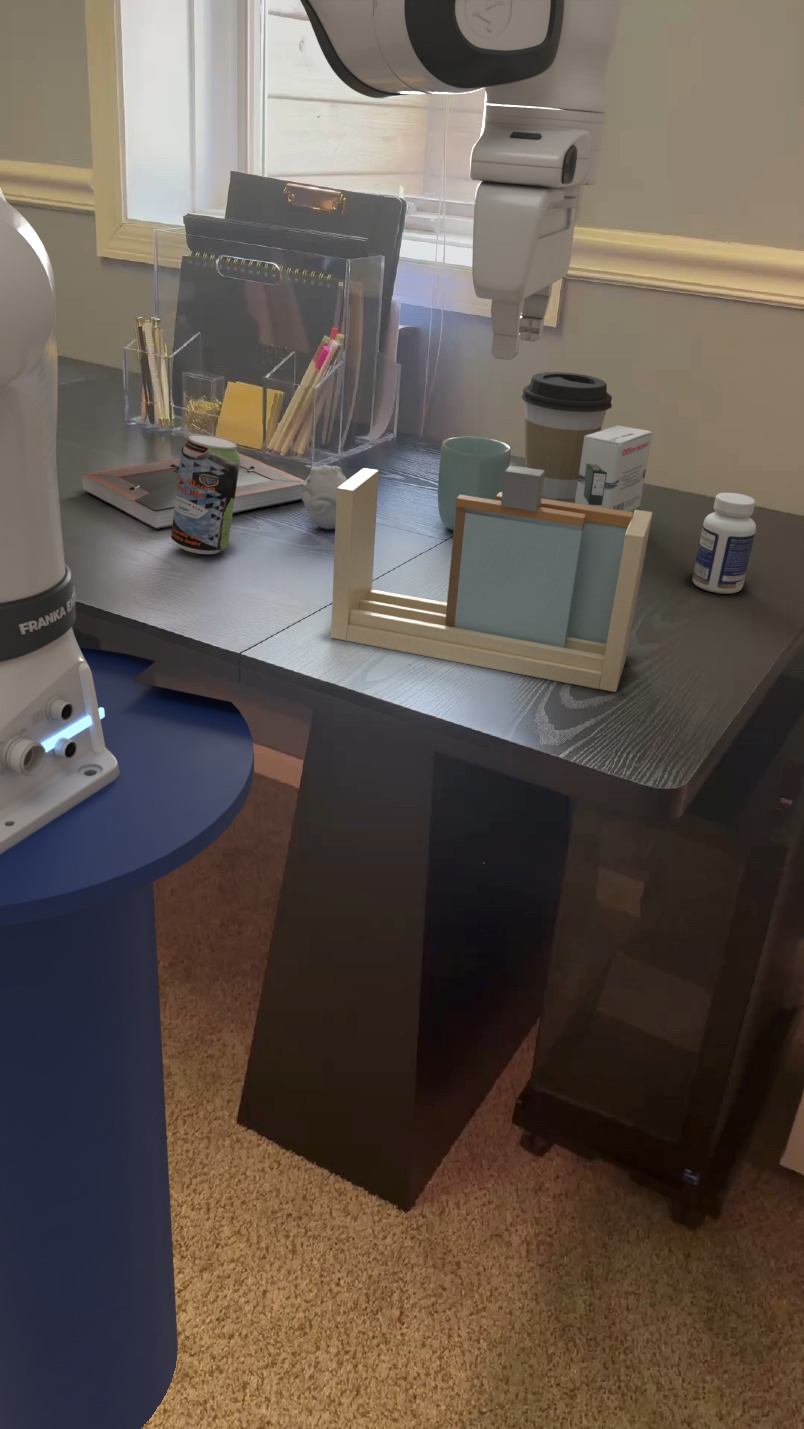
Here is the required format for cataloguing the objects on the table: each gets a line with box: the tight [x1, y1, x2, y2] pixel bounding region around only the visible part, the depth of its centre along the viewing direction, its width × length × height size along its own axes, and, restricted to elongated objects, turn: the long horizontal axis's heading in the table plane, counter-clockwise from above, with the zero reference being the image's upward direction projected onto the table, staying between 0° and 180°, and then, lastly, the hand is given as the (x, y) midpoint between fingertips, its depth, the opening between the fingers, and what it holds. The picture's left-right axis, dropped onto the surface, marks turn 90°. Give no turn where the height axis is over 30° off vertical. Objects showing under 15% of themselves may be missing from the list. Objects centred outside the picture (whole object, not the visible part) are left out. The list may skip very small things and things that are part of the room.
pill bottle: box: [691, 492, 757, 595], centre depth 115 cm, size 5×5×10 cm
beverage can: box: [170, 434, 240, 555], centre depth 114 cm, size 6×7×12 cm
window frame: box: [330, 467, 653, 693], centre depth 96 cm, size 7×26×14 cm, turn 73°
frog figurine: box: [301, 464, 348, 530], centre depth 124 cm, size 6×7×7 cm
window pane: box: [445, 465, 586, 648], centre depth 93 cm, size 2×11×16 cm, turn 73°
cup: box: [437, 436, 511, 532], centre depth 126 cm, size 8×8×10 cm
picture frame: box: [81, 452, 306, 530], centre depth 132 cm, size 16×2×22 cm
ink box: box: [575, 424, 653, 514], centre depth 129 cm, size 9×5×12 cm, turn 142°
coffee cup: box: [520, 371, 613, 503], centre depth 138 cm, size 11×11×15 cm
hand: (517, 348), depth 87 cm, fingers open, 8 cm apart
